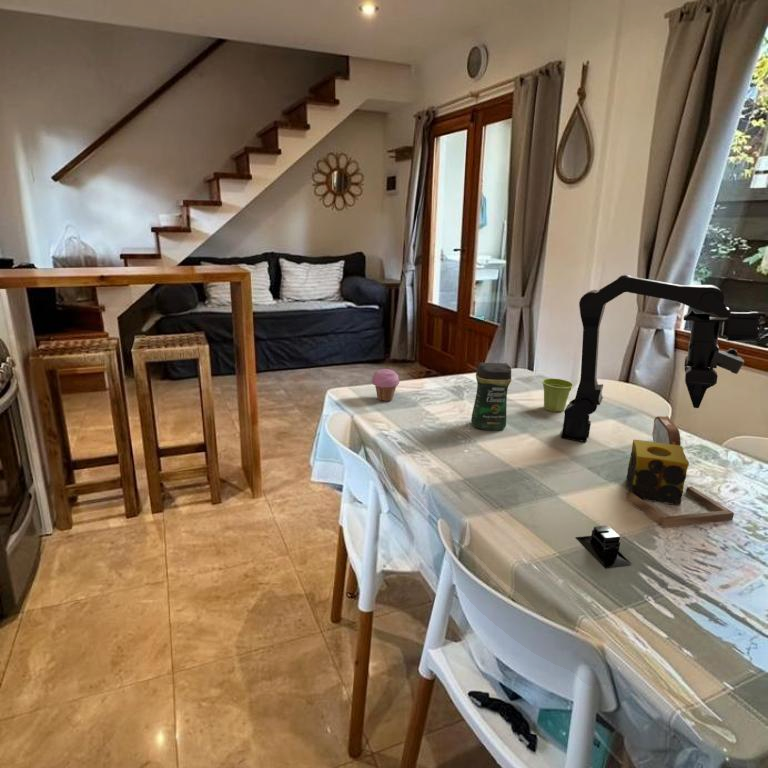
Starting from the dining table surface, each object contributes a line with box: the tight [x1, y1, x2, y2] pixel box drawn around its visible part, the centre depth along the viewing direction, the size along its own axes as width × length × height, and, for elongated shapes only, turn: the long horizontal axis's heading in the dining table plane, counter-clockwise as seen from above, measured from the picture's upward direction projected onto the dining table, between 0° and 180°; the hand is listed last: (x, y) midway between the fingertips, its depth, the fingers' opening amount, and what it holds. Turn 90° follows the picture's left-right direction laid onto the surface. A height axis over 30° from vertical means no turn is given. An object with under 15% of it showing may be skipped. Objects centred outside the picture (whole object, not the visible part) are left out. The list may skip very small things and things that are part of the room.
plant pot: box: [541, 377, 574, 413], centre depth 166 cm, size 9×9×9 cm
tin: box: [652, 415, 682, 446], centre depth 137 cm, size 15×3×8 cm, turn 168°
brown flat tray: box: [625, 485, 735, 528], centre depth 110 cm, size 11×16×2 cm
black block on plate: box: [575, 525, 634, 570], centre depth 95 cm, size 12×7×5 cm, turn 12°
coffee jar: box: [470, 362, 512, 431], centre depth 149 cm, size 10×8×19 cm
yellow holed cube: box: [626, 439, 690, 506], centre depth 116 cm, size 10×10×10 cm
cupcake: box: [371, 368, 400, 402], centre depth 169 cm, size 9×9×10 cm
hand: (695, 402), depth 130 cm, fingers open, 9 cm apart
